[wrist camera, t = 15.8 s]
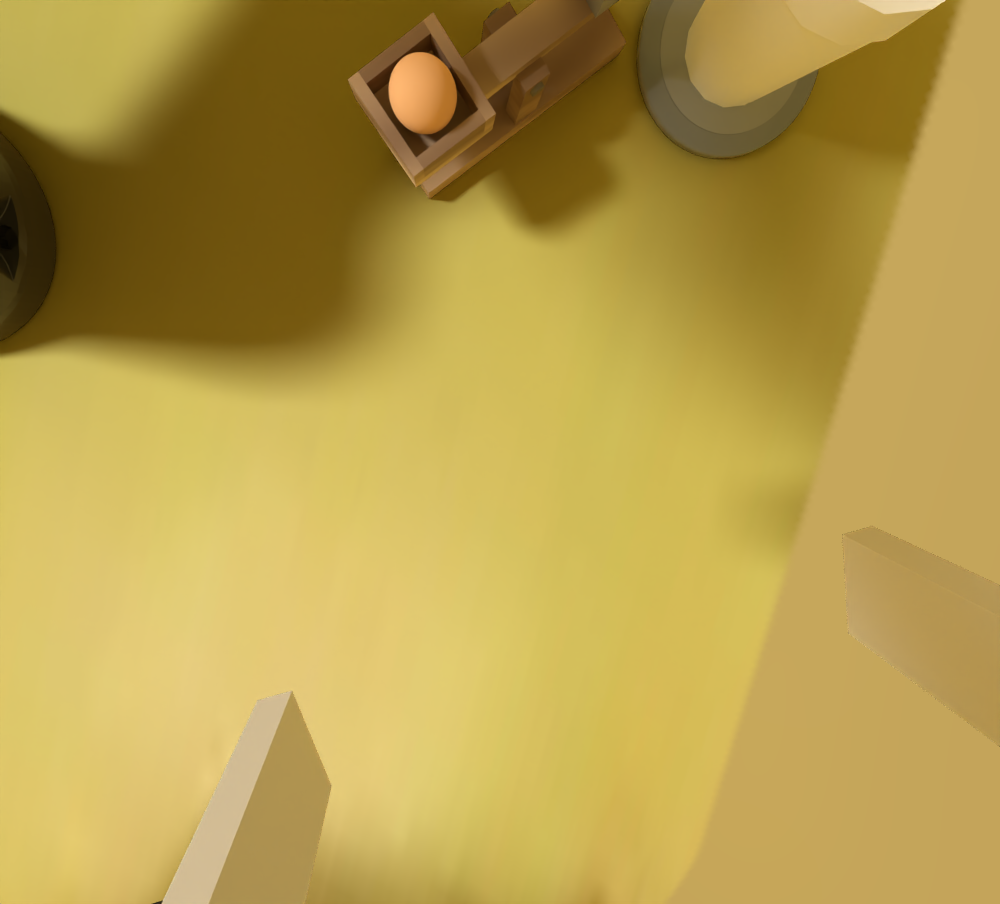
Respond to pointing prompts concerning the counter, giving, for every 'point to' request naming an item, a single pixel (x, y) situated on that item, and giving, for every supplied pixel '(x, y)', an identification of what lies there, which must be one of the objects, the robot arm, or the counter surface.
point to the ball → (422, 93)
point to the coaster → (686, 109)
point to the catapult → (490, 81)
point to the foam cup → (783, 40)
